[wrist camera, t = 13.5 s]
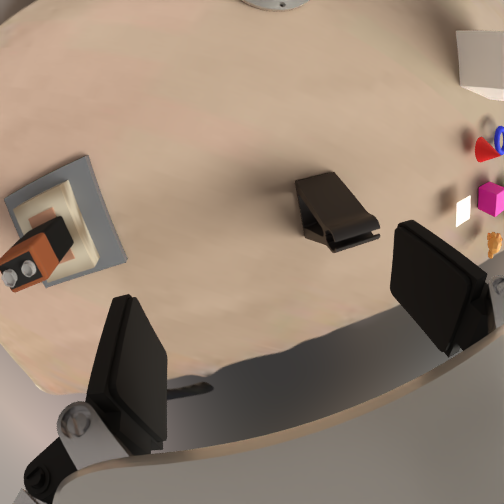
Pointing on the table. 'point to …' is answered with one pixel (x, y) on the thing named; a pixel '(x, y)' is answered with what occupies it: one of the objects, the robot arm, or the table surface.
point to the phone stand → (333, 213)
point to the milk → (482, 62)
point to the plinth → (65, 205)
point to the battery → (36, 255)
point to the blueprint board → (89, 207)
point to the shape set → (486, 191)
